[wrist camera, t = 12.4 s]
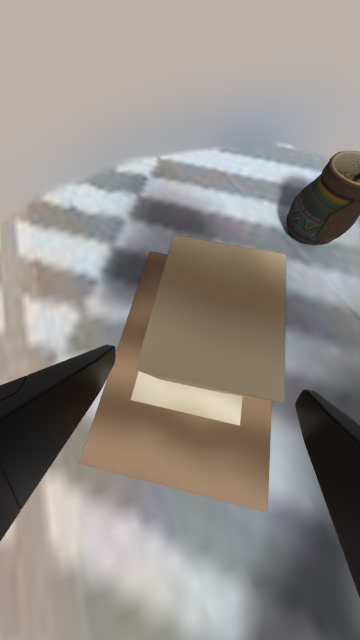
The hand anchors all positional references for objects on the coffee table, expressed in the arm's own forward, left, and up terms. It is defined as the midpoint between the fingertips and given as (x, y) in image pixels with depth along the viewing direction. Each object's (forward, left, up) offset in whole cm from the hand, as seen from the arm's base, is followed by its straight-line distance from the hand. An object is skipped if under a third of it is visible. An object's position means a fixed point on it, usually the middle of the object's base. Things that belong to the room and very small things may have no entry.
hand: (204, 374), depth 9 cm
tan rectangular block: (+2, 0, -7) cm, 8 cm away
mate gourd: (+22, -12, -10) cm, 27 cm away
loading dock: (+2, 0, -10) cm, 10 cm away
